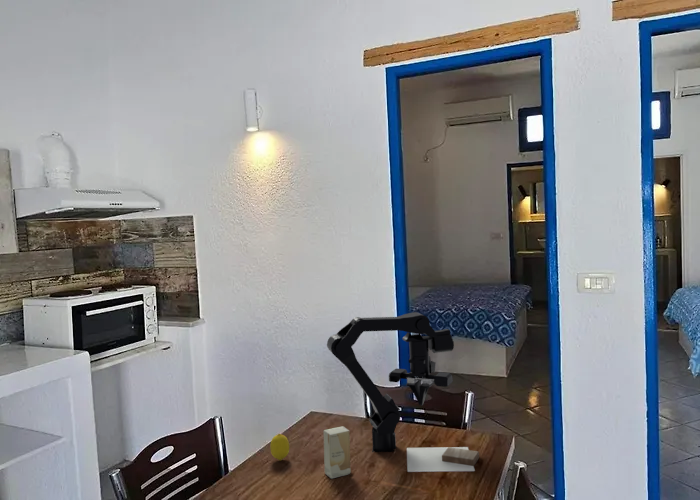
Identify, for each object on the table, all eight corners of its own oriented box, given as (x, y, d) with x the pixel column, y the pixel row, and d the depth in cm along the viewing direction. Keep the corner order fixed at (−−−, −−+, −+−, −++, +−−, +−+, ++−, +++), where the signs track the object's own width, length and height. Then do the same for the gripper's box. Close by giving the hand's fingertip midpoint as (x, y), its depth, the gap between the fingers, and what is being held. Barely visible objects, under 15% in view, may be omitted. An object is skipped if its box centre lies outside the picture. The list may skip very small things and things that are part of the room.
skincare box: (331, 479, 153) (328, 435, 153) (324, 473, 157) (322, 430, 157) (352, 473, 156) (350, 429, 156) (345, 467, 160) (342, 425, 160)
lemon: (293, 457, 169) (292, 431, 168) (283, 465, 164) (282, 438, 163) (277, 455, 171) (276, 429, 171) (267, 463, 166) (265, 436, 166)
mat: (407, 473, 155) (407, 471, 155) (406, 449, 170) (406, 447, 170) (475, 473, 153) (474, 470, 153) (467, 449, 169) (467, 447, 169)
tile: (441, 454, 160) (473, 459, 156) (448, 446, 165) (479, 451, 161) (442, 461, 160) (473, 466, 156) (448, 452, 165) (479, 457, 161)
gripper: (456, 350, 176) (458, 400, 177) (400, 346, 184) (402, 394, 185) (445, 359, 166) (448, 411, 167) (386, 354, 175) (389, 405, 175)
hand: (421, 405), depth 174 cm, fingers closed
